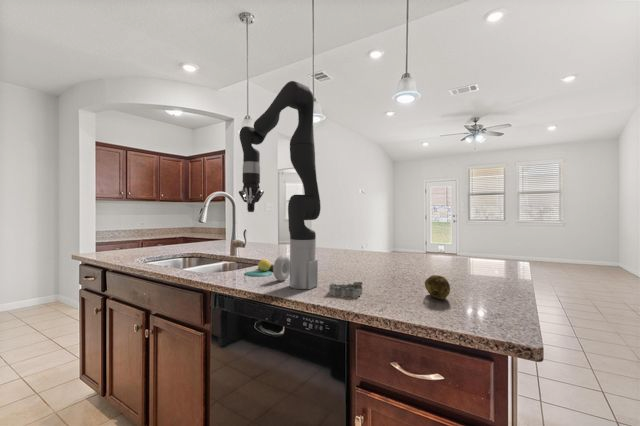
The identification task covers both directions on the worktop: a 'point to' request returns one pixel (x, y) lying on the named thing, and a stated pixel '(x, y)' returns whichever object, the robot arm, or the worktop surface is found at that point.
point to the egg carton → (346, 289)
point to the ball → (264, 265)
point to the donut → (281, 268)
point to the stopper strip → (270, 268)
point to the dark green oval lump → (437, 286)
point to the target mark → (258, 273)
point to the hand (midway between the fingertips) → (250, 211)
